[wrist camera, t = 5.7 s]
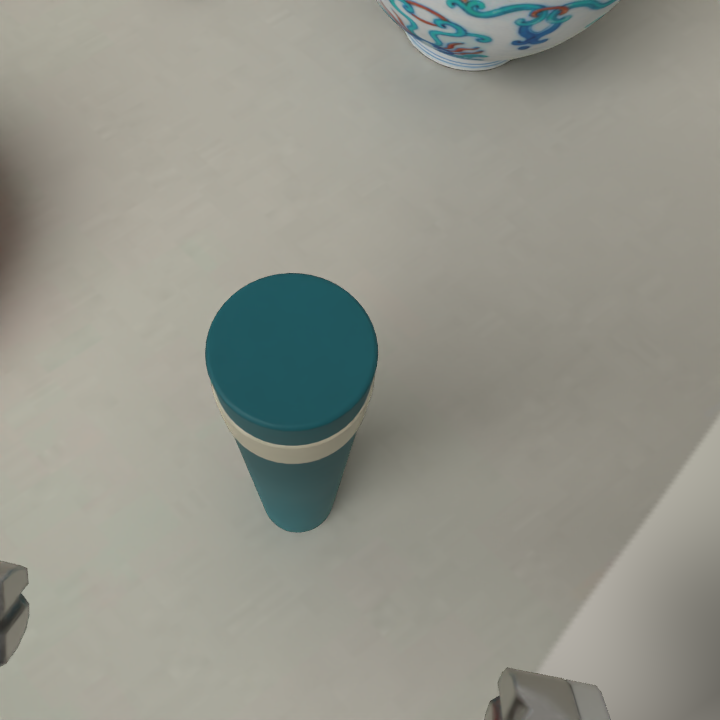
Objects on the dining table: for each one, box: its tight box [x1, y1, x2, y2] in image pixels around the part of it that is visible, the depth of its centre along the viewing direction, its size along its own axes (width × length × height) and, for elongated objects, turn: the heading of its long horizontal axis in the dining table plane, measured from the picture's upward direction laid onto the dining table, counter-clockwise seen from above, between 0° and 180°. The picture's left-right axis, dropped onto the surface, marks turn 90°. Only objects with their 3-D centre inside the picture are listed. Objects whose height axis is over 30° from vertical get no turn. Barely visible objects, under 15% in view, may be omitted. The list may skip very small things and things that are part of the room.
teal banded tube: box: [205, 273, 378, 532], centre depth 15 cm, size 3×3×14 cm
